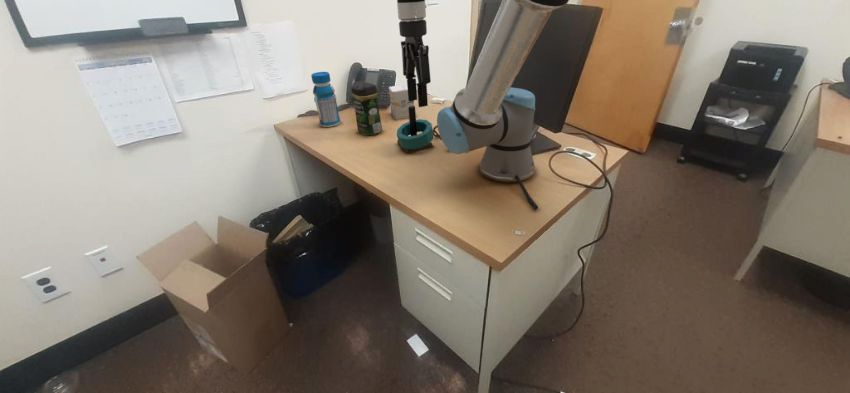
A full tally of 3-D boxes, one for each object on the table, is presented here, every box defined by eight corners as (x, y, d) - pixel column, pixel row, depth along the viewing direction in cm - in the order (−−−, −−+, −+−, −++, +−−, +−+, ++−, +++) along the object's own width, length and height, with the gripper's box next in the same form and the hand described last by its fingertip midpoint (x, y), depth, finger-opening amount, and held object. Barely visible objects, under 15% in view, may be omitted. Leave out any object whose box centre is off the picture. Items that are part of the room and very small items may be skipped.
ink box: (390, 113, 149) (387, 86, 142) (409, 111, 151) (407, 83, 144) (395, 120, 142) (392, 91, 135) (415, 117, 144) (413, 88, 137)
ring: (439, 138, 114) (437, 128, 111) (408, 153, 111) (405, 143, 109) (423, 125, 122) (421, 115, 120) (394, 139, 120) (391, 129, 117)
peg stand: (432, 147, 117) (430, 107, 110) (408, 153, 114) (404, 113, 107) (420, 138, 124) (418, 100, 117) (397, 143, 121) (393, 105, 114)
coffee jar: (354, 131, 133) (346, 82, 123) (372, 126, 137) (365, 77, 128) (367, 138, 127) (359, 86, 117) (385, 132, 131) (379, 82, 121)
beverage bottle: (330, 128, 137) (319, 76, 127) (315, 125, 141) (303, 75, 131) (345, 122, 143) (336, 71, 133) (330, 119, 147) (320, 70, 136)
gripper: (441, 20, 88) (444, 109, 101) (410, 16, 103) (415, 93, 116) (415, 23, 86) (420, 114, 98) (386, 18, 101) (394, 97, 113)
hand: (417, 103), depth 107 cm, fingers open, 7 cm apart
